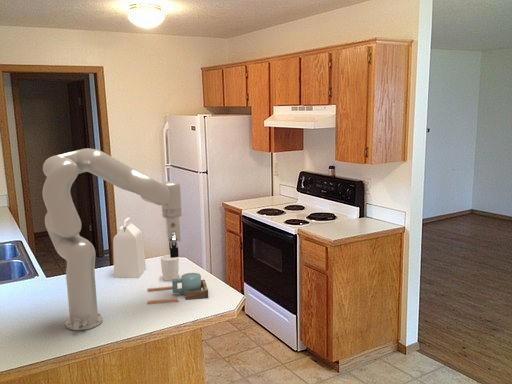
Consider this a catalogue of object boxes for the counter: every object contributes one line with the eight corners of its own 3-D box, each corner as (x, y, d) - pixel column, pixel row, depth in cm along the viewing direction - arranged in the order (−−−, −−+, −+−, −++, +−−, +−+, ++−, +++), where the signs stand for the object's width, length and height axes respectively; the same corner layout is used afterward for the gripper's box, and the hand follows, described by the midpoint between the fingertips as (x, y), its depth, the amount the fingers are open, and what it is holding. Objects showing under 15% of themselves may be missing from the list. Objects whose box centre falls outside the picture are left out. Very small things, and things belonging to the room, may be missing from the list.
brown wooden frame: (208, 297, 189) (208, 290, 188) (185, 299, 187) (185, 292, 186) (205, 286, 201) (204, 279, 200) (183, 288, 199) (183, 281, 198)
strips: (178, 301, 186) (178, 299, 185) (147, 304, 183) (147, 301, 183) (176, 288, 199) (176, 285, 199) (147, 290, 196) (147, 288, 196)
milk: (139, 278, 211) (136, 222, 206) (114, 278, 211) (110, 222, 206) (145, 268, 223) (143, 216, 218) (122, 268, 223) (118, 216, 218)
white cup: (181, 275, 214) (180, 254, 212) (176, 282, 206) (175, 260, 204) (164, 275, 214) (163, 254, 212) (159, 281, 207) (158, 260, 205)
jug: (202, 296, 191) (201, 278, 189) (173, 298, 188) (172, 281, 187) (200, 288, 198) (199, 272, 197) (172, 291, 196) (171, 274, 194)
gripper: (182, 216, 178) (184, 259, 181) (180, 207, 195) (181, 246, 198) (162, 218, 177) (165, 261, 180) (161, 208, 193) (164, 247, 196)
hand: (173, 253), depth 189 cm, fingers open, 9 cm apart
